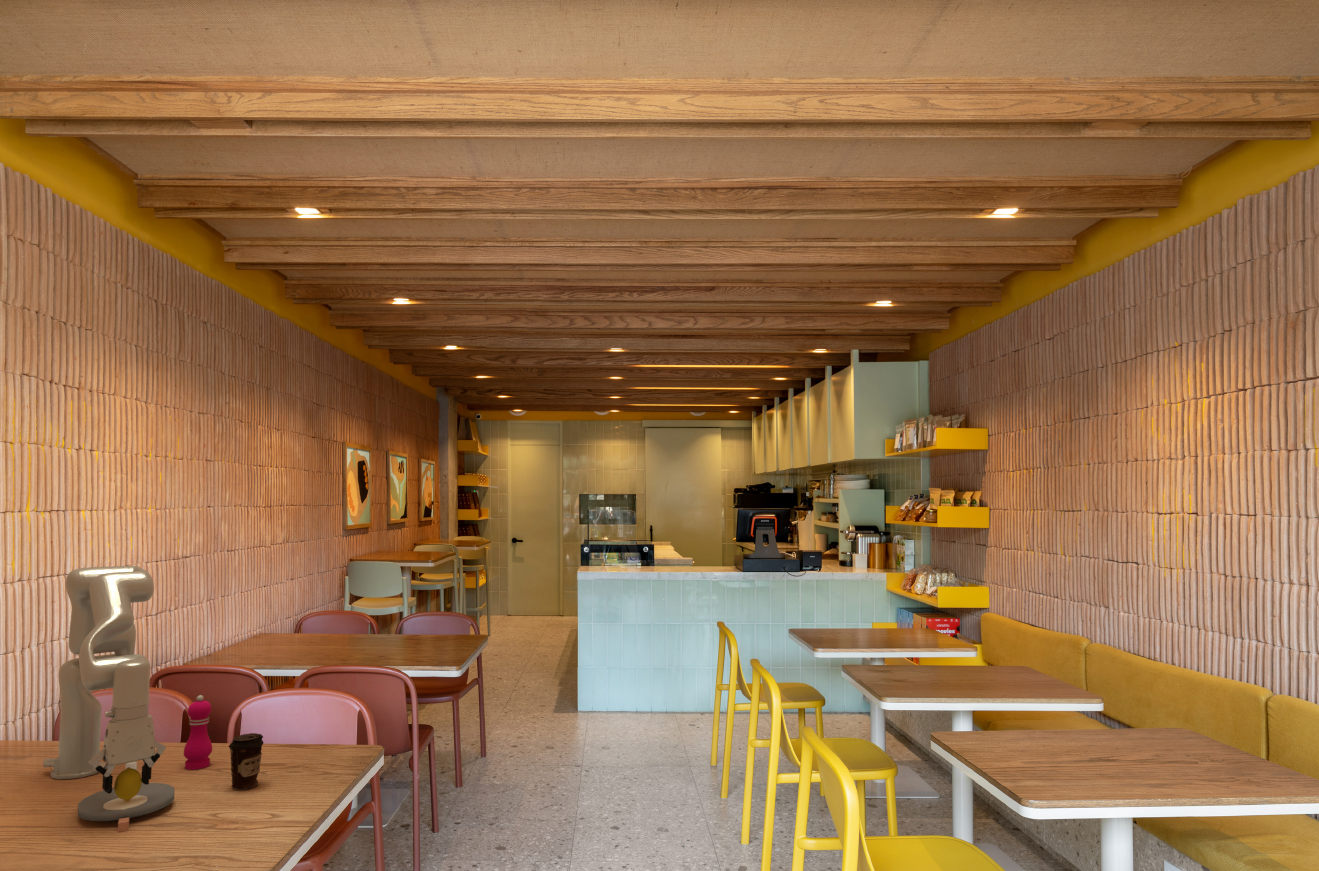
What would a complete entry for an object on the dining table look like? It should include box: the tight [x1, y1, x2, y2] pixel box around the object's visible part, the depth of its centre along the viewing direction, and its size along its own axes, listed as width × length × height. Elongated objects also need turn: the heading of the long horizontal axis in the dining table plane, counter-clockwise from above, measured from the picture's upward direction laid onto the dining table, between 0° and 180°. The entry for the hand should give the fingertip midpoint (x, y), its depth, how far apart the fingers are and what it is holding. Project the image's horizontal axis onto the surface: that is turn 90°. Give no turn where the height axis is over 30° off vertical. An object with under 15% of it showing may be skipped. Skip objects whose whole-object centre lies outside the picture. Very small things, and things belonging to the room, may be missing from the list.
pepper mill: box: [183, 694, 213, 771], centre depth 239 cm, size 7×7×20 cm
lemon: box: [113, 767, 142, 801], centre depth 200 cm, size 6×6×8 cm
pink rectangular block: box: [117, 817, 130, 833], centre depth 193 cm, size 3×2×2 cm, turn 29°
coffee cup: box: [228, 732, 264, 791], centre depth 222 cm, size 9×8×13 cm
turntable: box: [77, 761, 176, 822], centre depth 204 cm, size 20×20×8 cm
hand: (126, 787), depth 200 cm, fingers open, 7 cm apart
